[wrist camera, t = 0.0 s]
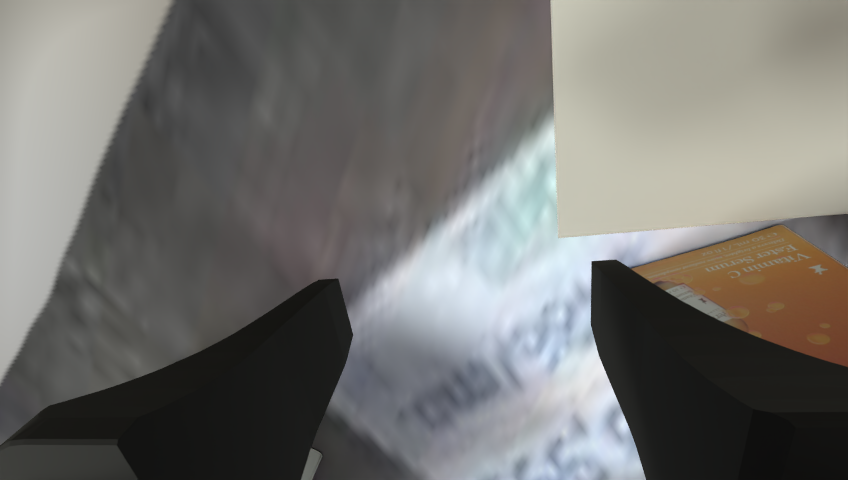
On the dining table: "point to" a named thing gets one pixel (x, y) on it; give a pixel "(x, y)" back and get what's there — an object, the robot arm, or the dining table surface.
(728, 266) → the small box
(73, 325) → the dining table surface
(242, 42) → the dining table surface
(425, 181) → the dining table surface
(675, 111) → the mat
